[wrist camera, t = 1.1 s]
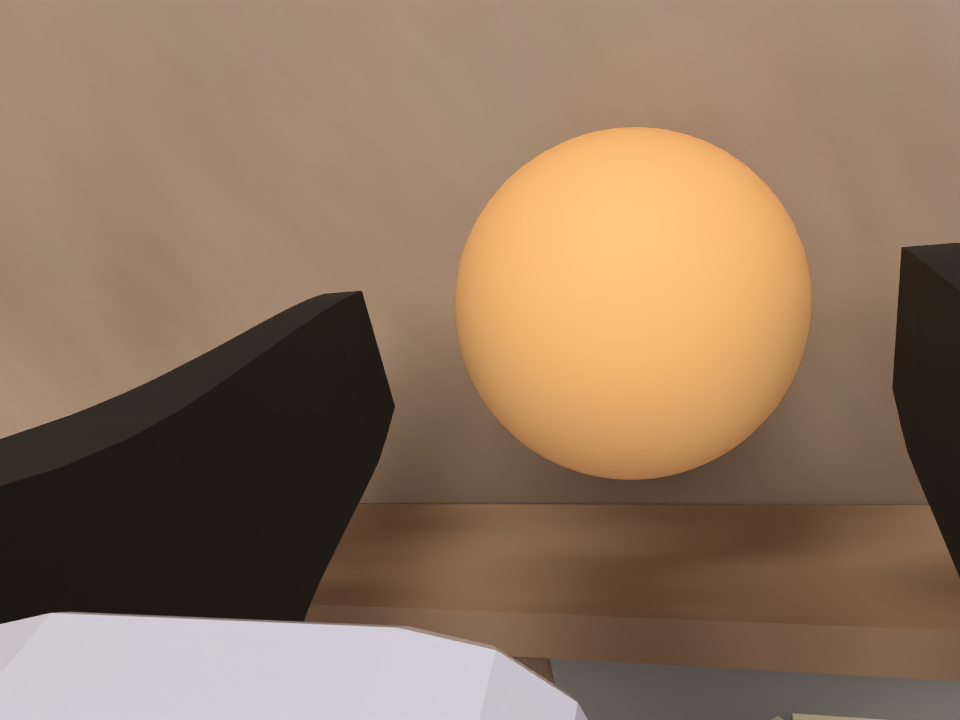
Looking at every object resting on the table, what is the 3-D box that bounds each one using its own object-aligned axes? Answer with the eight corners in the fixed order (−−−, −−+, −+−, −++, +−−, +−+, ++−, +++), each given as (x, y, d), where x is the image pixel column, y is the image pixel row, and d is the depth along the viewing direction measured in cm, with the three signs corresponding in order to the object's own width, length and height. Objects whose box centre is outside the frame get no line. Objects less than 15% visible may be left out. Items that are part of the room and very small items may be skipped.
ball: (794, 64, 12) (841, 180, 8) (794, 356, 15) (831, 560, 10) (468, 109, 14) (367, 228, 9) (518, 368, 16) (455, 553, 12)
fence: (1338, 505, 14) (1477, 651, 11) (1316, 559, 14) (1443, 708, 12) (201, 503, 20) (131, 597, 18) (218, 540, 21) (152, 635, 18)
